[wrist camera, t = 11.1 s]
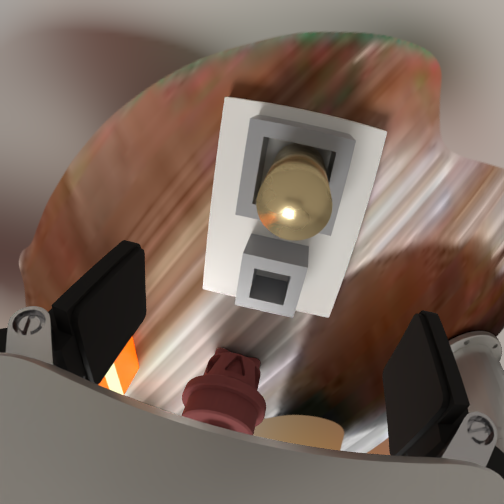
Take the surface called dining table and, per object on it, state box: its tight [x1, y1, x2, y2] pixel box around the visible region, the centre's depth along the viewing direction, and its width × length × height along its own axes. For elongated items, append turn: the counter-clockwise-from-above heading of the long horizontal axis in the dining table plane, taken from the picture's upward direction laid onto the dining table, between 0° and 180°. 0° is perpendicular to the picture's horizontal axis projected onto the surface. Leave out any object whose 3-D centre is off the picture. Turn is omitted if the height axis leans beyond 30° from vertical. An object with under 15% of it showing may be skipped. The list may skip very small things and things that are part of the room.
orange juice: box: [98, 336, 139, 395], centre depth 37 cm, size 8×9×20 cm
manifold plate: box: [203, 97, 387, 318], centre depth 29 cm, size 14×20×6 cm
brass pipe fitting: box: [256, 143, 333, 241], centre depth 23 cm, size 4×4×10 cm
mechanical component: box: [182, 348, 266, 435], centre depth 37 cm, size 12×10×10 cm
